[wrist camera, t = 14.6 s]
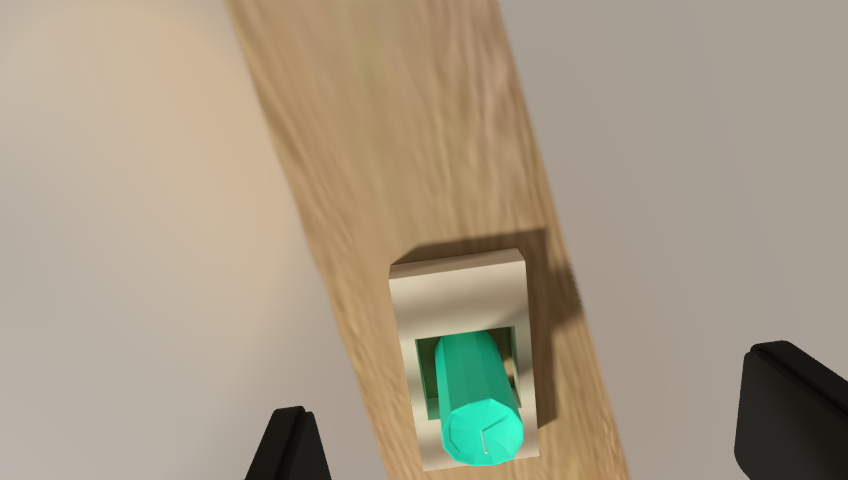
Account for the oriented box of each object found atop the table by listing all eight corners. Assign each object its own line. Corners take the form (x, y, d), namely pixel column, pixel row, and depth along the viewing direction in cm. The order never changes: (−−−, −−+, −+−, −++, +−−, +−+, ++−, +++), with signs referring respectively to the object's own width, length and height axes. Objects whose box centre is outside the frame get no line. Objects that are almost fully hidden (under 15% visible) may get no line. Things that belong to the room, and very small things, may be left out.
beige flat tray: (390, 265, 39) (388, 279, 36) (516, 247, 39) (525, 260, 36) (423, 447, 45) (423, 471, 43) (531, 432, 45) (539, 455, 42)
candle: (511, 349, 42) (548, 447, 31) (468, 391, 43) (488, 499, 32) (463, 313, 41) (483, 401, 29) (420, 357, 42) (424, 458, 31)
